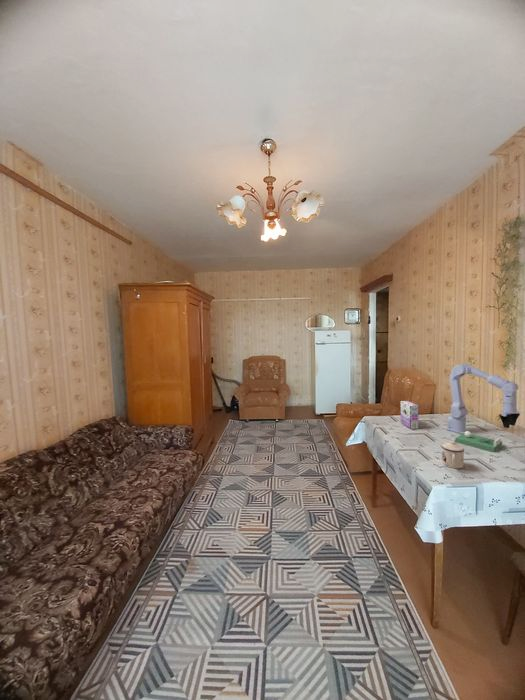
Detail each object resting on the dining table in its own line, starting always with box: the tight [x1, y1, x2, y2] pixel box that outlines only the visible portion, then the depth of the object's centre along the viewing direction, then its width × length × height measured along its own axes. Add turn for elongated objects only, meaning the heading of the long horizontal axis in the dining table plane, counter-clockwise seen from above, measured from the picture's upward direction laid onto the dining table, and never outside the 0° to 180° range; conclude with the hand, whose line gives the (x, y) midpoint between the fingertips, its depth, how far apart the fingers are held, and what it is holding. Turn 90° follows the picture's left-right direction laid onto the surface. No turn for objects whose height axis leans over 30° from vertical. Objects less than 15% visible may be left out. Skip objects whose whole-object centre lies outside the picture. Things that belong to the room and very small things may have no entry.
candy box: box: [399, 400, 420, 430], centre depth 191 cm, size 14×6×16 cm, turn 179°
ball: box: [464, 430, 473, 437], centre depth 162 cm, size 4×4×4 cm
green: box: [454, 433, 503, 453], centre depth 157 cm, size 18×14×5 cm
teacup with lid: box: [441, 440, 465, 469], centre depth 133 cm, size 12×9×12 cm
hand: (509, 426), depth 156 cm, fingers open, 7 cm apart
